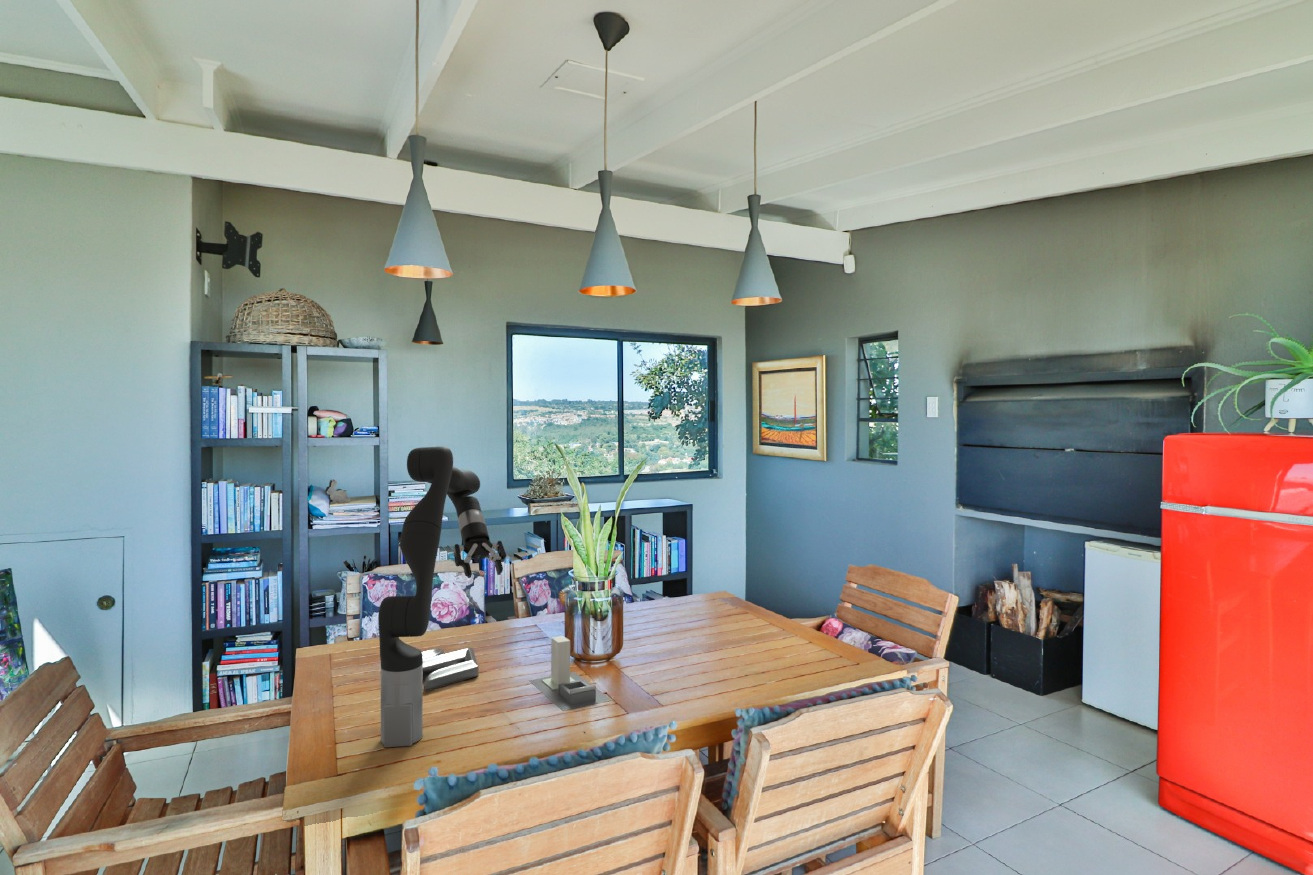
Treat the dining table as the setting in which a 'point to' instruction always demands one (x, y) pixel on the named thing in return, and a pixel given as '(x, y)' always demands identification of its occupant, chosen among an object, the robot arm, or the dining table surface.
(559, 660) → the cream rectangular block
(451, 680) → the emblem
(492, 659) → the dining table surface
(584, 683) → the grey socket base
